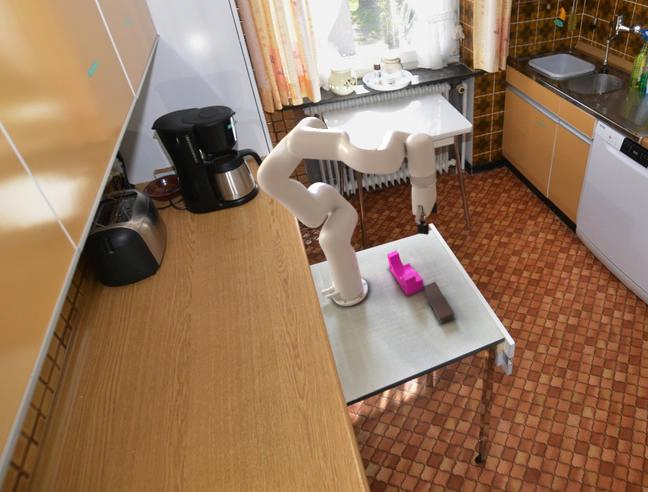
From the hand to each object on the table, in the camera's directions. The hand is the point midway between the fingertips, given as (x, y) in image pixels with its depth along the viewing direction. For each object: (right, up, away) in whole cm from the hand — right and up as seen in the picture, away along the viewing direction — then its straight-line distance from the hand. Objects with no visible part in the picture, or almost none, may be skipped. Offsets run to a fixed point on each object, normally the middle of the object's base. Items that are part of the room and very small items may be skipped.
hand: (427, 222), depth 132 cm
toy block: (-8, -24, +26) cm, 36 cm away
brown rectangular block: (+3, -29, +15) cm, 33 cm away
